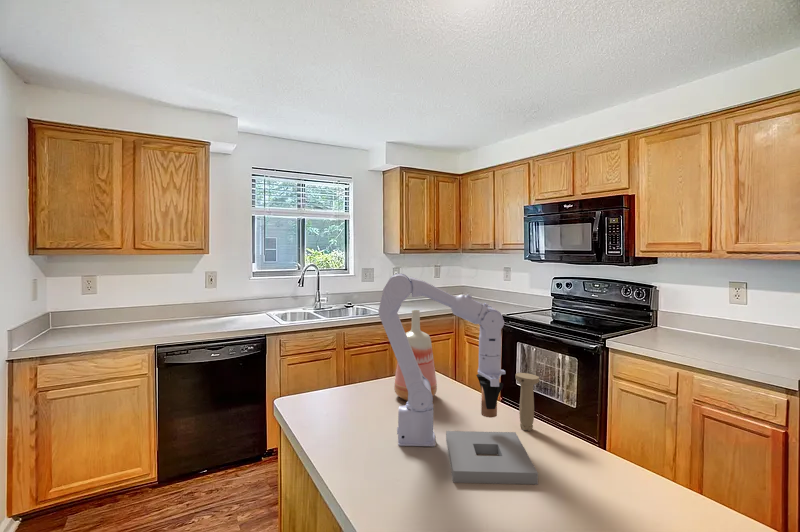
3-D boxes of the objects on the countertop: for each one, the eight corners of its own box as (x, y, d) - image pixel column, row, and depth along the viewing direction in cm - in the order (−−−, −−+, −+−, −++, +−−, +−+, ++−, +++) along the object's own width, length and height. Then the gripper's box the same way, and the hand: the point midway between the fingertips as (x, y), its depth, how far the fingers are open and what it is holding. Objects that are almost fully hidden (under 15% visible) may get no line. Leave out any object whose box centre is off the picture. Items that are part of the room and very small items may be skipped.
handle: (532, 435, 113) (533, 380, 113) (511, 427, 118) (512, 375, 117) (541, 430, 116) (542, 376, 116) (520, 423, 121) (521, 371, 121)
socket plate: (453, 482, 90) (453, 471, 90) (446, 440, 110) (446, 431, 110) (537, 484, 89) (537, 472, 89) (515, 441, 109) (515, 432, 109)
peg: (482, 417, 108) (483, 386, 107) (480, 411, 112) (480, 381, 111) (498, 417, 108) (498, 386, 107) (495, 411, 112) (495, 382, 111)
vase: (390, 391, 147) (390, 308, 146) (429, 388, 151) (429, 307, 150) (399, 406, 133) (400, 314, 132) (442, 403, 137) (443, 312, 136)
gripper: (512, 361, 102) (511, 416, 102) (499, 347, 116) (498, 395, 117) (482, 361, 102) (482, 416, 102) (473, 347, 116) (473, 395, 117)
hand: (489, 405), depth 110 cm, fingers closed on peg, 4 cm apart
